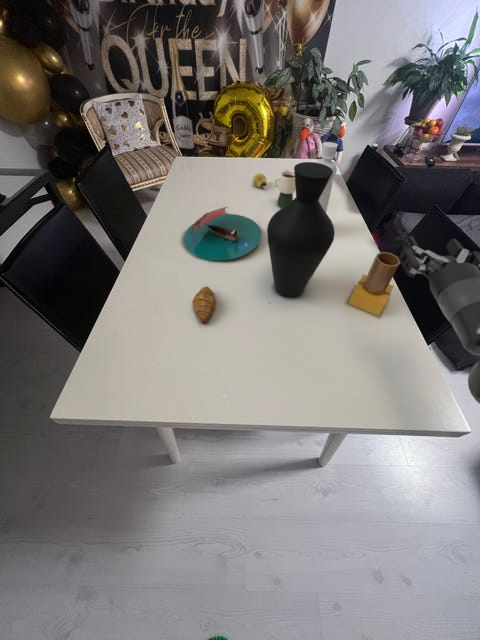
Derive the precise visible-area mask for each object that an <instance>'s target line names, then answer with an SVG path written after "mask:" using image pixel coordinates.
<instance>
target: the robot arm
mask: <svg viewBox="0 0 480 640" xmlns="http://www.w3.org/2000/svg"><path fill="white" fill-rule="evenodd" d="M402 247H403V249H402V251H401V253H400V254H399V256H398V259H399V261H400V264H401V266H402V268H403V270H404V271H405V273H406V274H407V276H408V277H409V278H415V276H416V274H419V275H423V276H424V277H426V278H427V279H428V282H429V283H428V284H429V289H430V291H431V293H432V295H433V297H434V298H435V301H436V303H437V305H438V306H439V308H440V310H441V312H442V314H443V316H444V317H445V318H446V319H447V321H448V322H449V323H450V325H451V326H452V328H453V330H454V332H455V334H456V336H457V338H458V339H459V341H460V343H461V345H462V347H463V348H464V350H466V351H467V352H468V353H469V354H472V355H475V356H478V357H480V252H479V251H473V252H470V251H469V249H466V248H464V246H463V245H462V244H461V243H460V242H459V241H458V240H457V239H456V238H451V239H449V241H448V243H447V244H446V246H445V248H446V250H447V251H448V253H449V254H450V255H441V254H436V253H435V252H433V251H431V250H430V249H426V250H425V249H422V248H421V247H419V244H418V243H417V241H416V240H415V238H414V236H412V235H408V236H407V238H405V240H404V242H403V244H402ZM417 254H418V255H419V256H420V257H417V256H416V255H417ZM427 258H429V260H428V261H427ZM426 261H427V263H426V264H425V262H426ZM467 386H468V390H469V392H470V394H471V397H473V399H474V400H475V401H476V402H477V403H478V404H479V405H480V360H478V361H477V362H476V363H475V364H474V365H473V366H472V368H471V370H470V371H469V373H468V378H467Z"/></svg>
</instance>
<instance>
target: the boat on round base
mask: <svg viewBox="0 0 480 640" xmlns="http://www.w3.org/2000/svg"><path fill="white" fill-rule="evenodd" d="M226 209H229V206H225V207H221V208H217V209H213V210H211V211H209V212H206V213H205V214H203V215H202V216H201V217H199V218H198V219H197V220H196V221H195V222H194V223H193V224H191V225H190V226H189V227H188V228H187V230H186V231H185V232H184V233H185V234H184V236H183V239H182V240H183V241H182V242H183V245H184V247H185V249H186V250H187V251H188V252H189V253H190V254H192V255H194V256H196V257H197V258H200V259H202V260H203V259H204V260H209V261H226V260H233V259H237V258H241V257H242V256H245V255H246V254H249V253H250V252H251V251H252V250H254V249H255V248H256V247H257V246H258V245H259V243H260V242H261V239H262V236H263V235H262V234H263V233H262V232H263V231H262V229H261V227H260V226H259V224H258V223H257V222H256V221H254V220H253V219H251V218H249V217H247V216H245V215H240V214H235V213H229V212H226Z"/></svg>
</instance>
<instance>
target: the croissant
mask: <svg viewBox="0 0 480 640" xmlns="http://www.w3.org/2000/svg"><path fill="white" fill-rule="evenodd" d="M191 303H192V307H193V309H194V313H195V315H196V316H197V318H198V320H199V321H200V323H201V324H206V323H208V321H209V319H210V318H211V316H212V314H213V312H214V311H213V310H214V309H215V307H216V304H217V299H216V297H215V296H214V292H213V291H212V289H211V288H210V287H209V286H203V287H201V289H200V290H198V292H197V293H195V295H194V297H193V299H192V302H191Z"/></svg>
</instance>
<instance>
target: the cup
mask: <svg viewBox="0 0 480 640" xmlns="http://www.w3.org/2000/svg"><path fill="white" fill-rule="evenodd" d="M398 258H399V256H397V255H395V254H394V253H391V252H388V251H381V252H378V253H377V254H376V255H375V258H374V259H373V262H372V263H371V266H370V268H369V270H368V273H367V274H366V275H367V277H366V279H365V281H364V284H363V287H364V289H365V290H366V291H367V292H369V293H371V294H375V295H380V294H383V293H384V292H385V290H386V288H387V286H388V285H389V284H390V283H391V281H392V279H393V277H394V276H395V273H396V272H397V270H398V269H399V266H400V264H401V263H400V261H399V259H398Z"/></svg>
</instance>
